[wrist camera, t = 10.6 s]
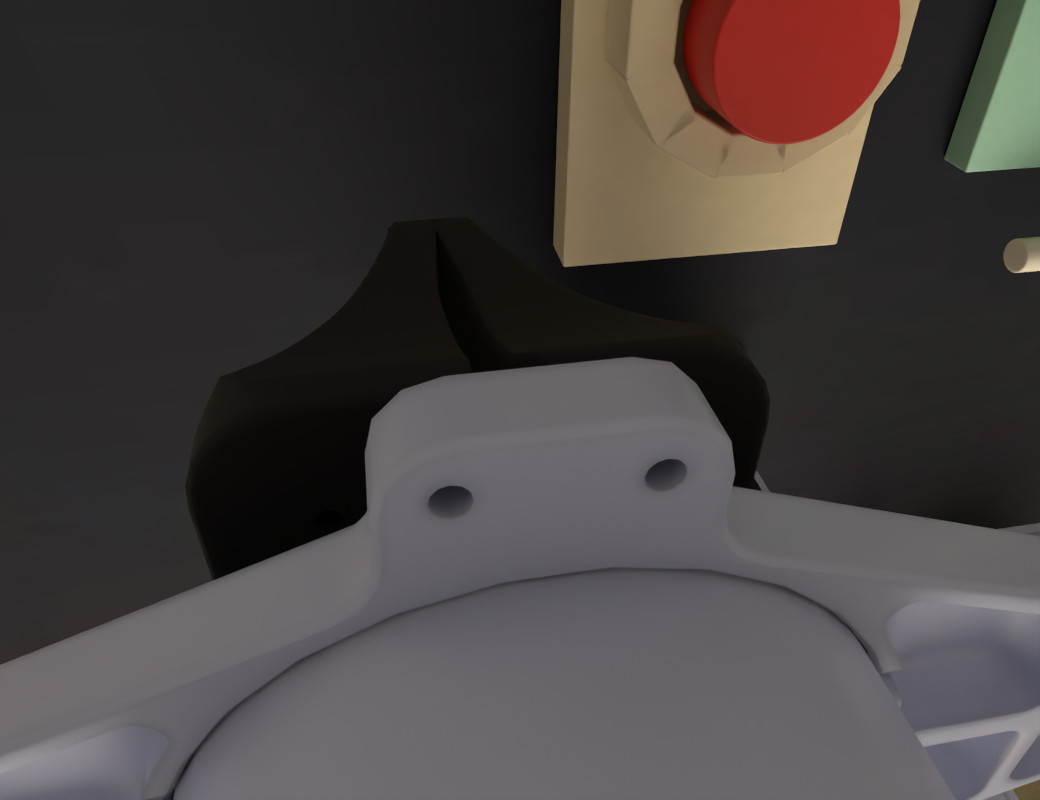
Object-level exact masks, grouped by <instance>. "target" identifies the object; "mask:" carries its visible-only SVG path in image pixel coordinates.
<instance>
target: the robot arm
mask: <svg viewBox="0 0 1040 800" xmlns="http://www.w3.org/2000/svg"><path fill="white" fill-rule="evenodd" d="M769 407H770V398H769V394H768V390H767V386H766V383H765V380H764V379H763V377H762V376H761V374H760V373H759V372H758V370H757V369H756V368H755V366H754V364H753V363H752V361H751V360H750V358H749V357H748V355H747V354H746V353H745V351H744V350H743V348H742V347H741V346H740V345H739V343H738V342H737V341H736V340H735V338H734V337H733V336H732V335H731V334H730V333H729V331H728V330H727V329H726V328H725V327H720V326H712V325H703V324H694V323H686V322H677V321H671V320H666V319H661V318H656V317H652V316H647V315H642V314H638V313H635V312H631V311H627V310H623V309H620V308H617V307H614V306H611V305H608V304H605V303H602V302H599V301H597V300H594V299H591V298H589V297H586V296H584V295H582V294H579V293H577V292H575V291H573V290H571V289H569V288H567V287H565V286H563V285H561V284H559V283H557V282H555V281H553V280H551V279H549V278H548V277H546V276H544V275H543V274H541V273H540V272H538V271H536V270H535V269H533V268H532V267H530V266H528V265H527V264H525V263H524V262H523V261H521V260H520V259H518V258H517V257H515V256H514V255H513V254H511V253H510V252H509V251H507V250H506V249H505V248H504V247H502V246H501V245H500V244H499V243H497V242H496V241H495V240H494V239H492V238H491V237H490V236H489V235H488V234H486V233H485V232H484V231H483V230H482V229H481V228H479V227H478V226H477V225H476V224H475V223H474V222H472V221H471V220H470V219H469V218H468V217H459V218H445V219H431V220H418V221H404V222H394V223H393V224H392V225H391V226H390V228H389V229H388V233H387V237H386V240H385V242H384V245H383V247H382V249H381V251H380V253H379V255H378V257H377V259H376V260H375V262H374V264H373V266H372V267H371V269H370V271H369V273H368V274H367V276H366V277H365V278H364V280H363V281H362V283H361V284H360V285H359V287H358V288H357V290H356V291H355V292H354V294H353V295H352V296H351V298H350V299H349V300H348V301H347V302H346V303H345V305H344V306H343V307H342V308H341V309H340V310H339V311H338V312H337V313H336V314H335V315H334V316H333V317H332V318H330V319H329V320H328V321H327V322H325V323H324V324H323V325H321V326H320V327H319V328H317V329H316V330H315V331H313V332H312V333H311V334H309V335H308V336H307V337H305V338H304V339H302V340H301V341H299V342H297V343H296V344H294V345H292V346H291V347H289V348H287V349H285V350H283V351H282V352H280V353H278V354H276V355H274V356H272V357H270V358H268V359H266V360H263V361H261V362H259V363H256V364H253V365H251V366H248V367H246V368H243V369H241V370H238V371H236V372H233V373H230V374H227V375H224V376H221V377H220V378H219V380H218V381H217V384H216V386H215V388H214V390H213V393H212V395H211V397H210V399H209V402H208V404H207V406H206V409H205V411H204V413H203V416H202V418H201V420H200V423H199V426H198V429H197V432H196V436H195V439H194V444H193V448H192V453H191V458H190V464H189V469H188V474H187V479H186V485H185V489H186V496H187V503H188V509H189V512H190V515H191V518H192V521H193V524H194V527H195V530H196V533H197V536H198V538H199V541H200V544H201V547H202V550H203V553H204V556H205V559H206V562H207V564H208V567H209V570H210V573H211V576H212V579H213V581H211V582H208V583H205V584H203V585H200V586H198V587H195V588H193V589H190V590H188V591H185V592H183V593H180V594H178V595H175V596H173V597H170V598H168V599H165V600H163V601H160V602H158V603H155V604H153V605H150V606H148V607H145V608H142V609H140V610H137V611H135V612H132V613H130V614H127V615H125V616H122V617H120V618H117V619H115V620H112V621H110V622H107V623H105V624H102V625H100V626H97V627H95V628H92V629H90V630H87V631H85V632H82V633H79V634H77V635H74V636H72V637H69V638H67V639H64V640H62V641H59V642H57V643H54V644H52V645H49V646H47V647H44V648H42V649H39V650H37V651H34V652H32V653H29V654H27V655H24V656H22V657H19V658H17V659H14V660H11V661H9V662H6V663H4V664H1V665H0V800H1019V799H1018V797H1017V796H1016V794H1015V792H1014V791H1013V789H1014V788H1017V787H1020V786H1023V785H1025V784H1028V783H1031V782H1034V781H1037V780H1040V523H1036V524H1029V525H1022V526H1015V527H1008V528H1001V529H992V528H986V527H979V526H973V525H967V524H961V523H955V522H949V521H943V520H937V519H930V518H924V517H918V516H912V515H906V514H900V513H894V512H888V511H881V510H875V509H869V508H863V507H857V506H851V505H845V504H839V503H832V502H826V501H820V500H814V499H808V498H802V497H796V496H790V495H783V494H777V493H771V492H770V491H769V490H768V488H767V486H766V485H765V483H764V482H763V480H762V478H761V477H760V475H759V473H758V472H757V470H756V469H757V465H758V460H759V456H760V452H761V448H762V444H763V440H764V436H765V432H766V428H767V424H768V418H769Z"/></svg>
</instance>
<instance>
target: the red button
mask: <svg viewBox="0 0 1040 800" xmlns="http://www.w3.org/2000/svg"><path fill="white" fill-rule="evenodd" d="M899 25H900V1H899V0H692V1H691V3H690V6H689V10H688V13H687V17H686V21H685V27H684V35H683V53H684V61H685V66H686V70H687V73H688V76H689V79H690V81H691V83H692V85H693V87H694V88H695V90H696V91H697V93H698V94H699V96H700V97H701V98H702V99H703V100H704V101H705V102H706V103H707V104H708V105H709V106H710V107H712V108H713V109H714V110H715V111H716V112H717V113H719V114H720V115H721V116H722V117H723V118H725V119H726V120H727V121H728V122H729V123H730V124H732V125H733V126H734V127H735V128H736V129H738V130H739V131H740V132H742V133H743V134H744V135H746V136H748V137H750V138H752V139H754V140H757V141H760V142H763V143H769V144H793V143H799V142H803V141H807V140H810V139H813V138H816V137H818V136H821V135H823V134H824V133H826V132H828V131H830V130H832V129H834V128H835V127H837V126H838V125H840V124H841V123H843V122H844V121H845V120H846V119H847V118H849V117H850V116H851V115H852V114H853V113H854V112H855V111H856V110H857V109H858V108H859V107H860V106H861V105H862V104H863V103H864V102H865V101H866V100H867V98H868V97H869V96H870V95H871V94H872V92H873V91H874V89H875V88H876V86H877V85H878V83H879V82H880V80H881V78H882V77H883V75H884V73H885V71H886V69H887V67H888V65H889V62H890V60H891V58H892V55H893V52H894V49H895V46H896V42H897V37H898V33H899Z"/></svg>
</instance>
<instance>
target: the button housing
mask: <svg viewBox="0 0 1040 800" xmlns="http://www.w3.org/2000/svg"><path fill="white" fill-rule="evenodd" d="M691 1H692V0H561V27H560V57H559V87H558V117H557V147H556V177H555V207H554V236H553V246H554V248H555V250H556V252H557V254H558V256H559V258H560V260H561V262H562V264H563V266H564V267H571V266H583V265H594V264H606V263H618V262H630V261H642V260H654V259H666V258H678V257H690V256H702V255H714V254H725V253H737V252H749V251H761V250H773V249H785V248H797V247H809V246H821V245H833V244H836V243H837V240H838V236H839V232H840V229H841V225H842V221H843V217H844V214H845V210H846V206H847V202H848V199H849V195H850V191H851V188H852V184H853V180H854V176H855V173H856V169H857V165H858V161H859V158H860V154H861V150H862V147H863V143H864V139H865V135H866V132H867V128H868V124H869V121H870V117H871V113H872V109H873V106H874V103H875V101H876V100H877V99H878V97H879V96H880V95H881V94H882V92H883V91H884V90H885V88H886V87H887V86H888V84H889V83H890V82H891V80H892V79H893V78H894V77H895V75H896V74H897V73H898V71H899V70H900V69H901V64H902V63H903V59H904V56H905V52H906V49H907V45H908V42H909V38H910V34H911V31H912V27H913V24H914V20H915V17H916V13H917V10H918V6H919V2H920V0H899V1H900V25H899V33H898V37H897V42H896V46H895V49H894V52H893V55H892V58H891V60H890V62H889V65H888V67H887V69H886V71H885V73H884V75H883V77H882V78H881V80H880V82H879V83H878V85H877V86H876V88H875V89H874V91H873V92H872V94H871V95H870V96H869V97H868V98H867V100H866V101H865V102H864V103H863V104H862V105H861V106H860V107H859V108H858V109H857V110H856V111H855V112H854V113H853V114H852V115H851V116H850V117H849V118H847V119H846V120H845V121H844V122H843V123H841V124H840V125H838V126H837V127H835V128H834V129H832V130H830V131H828V132H826V133H824V134H823V135H821V136H818V137H816V138H813V139H810V140H807V141H803V142H799V143H793V144H769V143H763V142H760V141H757V140H754V139H752V138H750V137H748V136H746V135H744V134H743V133H742V132H740V131H739V130H738V129H736V128H735V127H734V126H733V125H732V124H730V123H729V122H728V121H727V120H726V119H725V118H723V117H722V116H721V115H720V114H719V113H717V112H716V111H715V110H714V109H713V108H712V107H710V106H709V105H708V104H707V103H706V102H705V101H704V100H703V99H702V98H701V97H700V96H699V94H698V93H697V91H696V90H695V88H694V87H693V85H692V83H691V81H690V79H689V76H688V73H687V70H686V66H685V61H684V53H683V35H684V27H685V21H686V17H687V13H688V10H689V6H690V3H691Z"/></svg>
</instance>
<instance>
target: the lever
mask: <svg viewBox="0 0 1040 800" xmlns="http://www.w3.org/2000/svg"><path fill="white" fill-rule="evenodd" d="M1003 257H1004V263H1005V266H1006V267H1007V269H1008V270H1010V271H1011V272H1014V273H1021V272H1032V271H1040V237H1031V238H1019V239H1014V240H1012V241H1011V242H1009V243H1008V244H1007V246H1006V248H1005V250H1004V256H1003Z"/></svg>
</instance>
